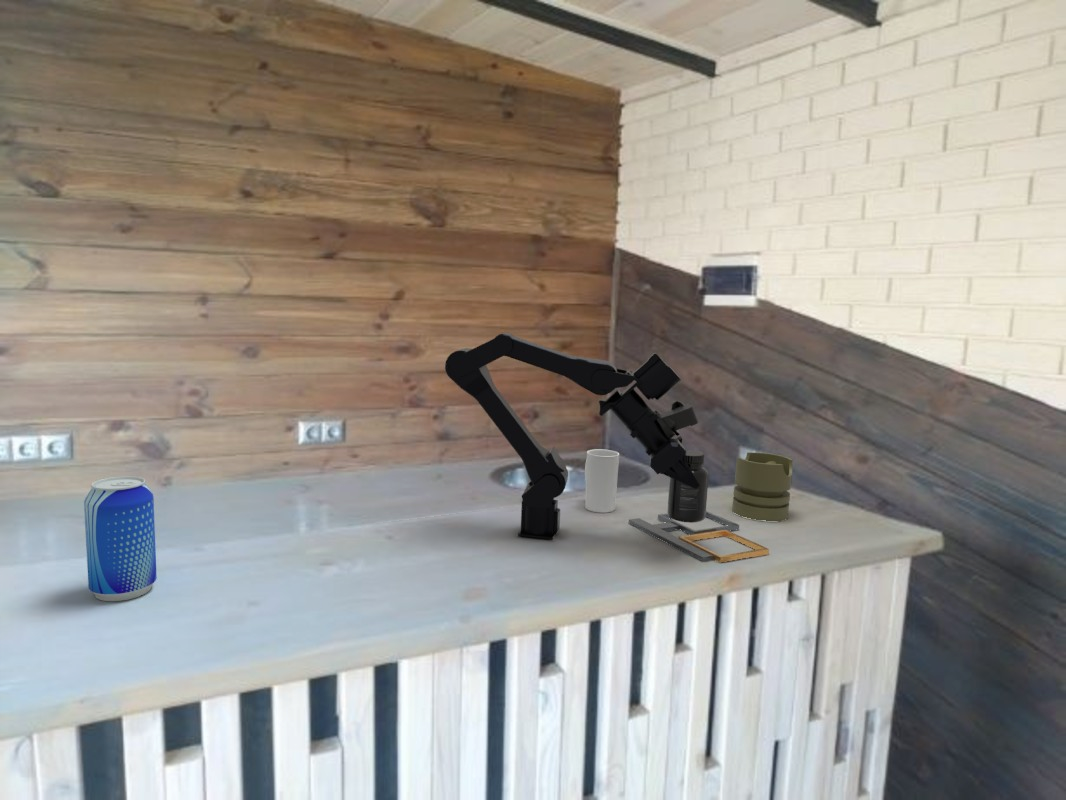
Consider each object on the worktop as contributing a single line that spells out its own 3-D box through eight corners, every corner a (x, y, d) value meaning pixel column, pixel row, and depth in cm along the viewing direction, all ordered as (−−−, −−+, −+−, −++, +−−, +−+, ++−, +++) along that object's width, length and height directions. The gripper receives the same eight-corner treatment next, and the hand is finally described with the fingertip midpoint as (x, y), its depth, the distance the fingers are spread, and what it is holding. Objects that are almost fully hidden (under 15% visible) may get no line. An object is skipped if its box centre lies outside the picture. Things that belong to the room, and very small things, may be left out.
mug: (622, 511, 150) (625, 455, 148) (594, 514, 147) (597, 457, 145) (597, 498, 158) (600, 445, 157) (570, 501, 156) (573, 447, 154)
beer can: (109, 609, 96) (103, 494, 94) (77, 593, 101) (70, 483, 98) (169, 588, 104) (165, 481, 101) (136, 575, 108) (132, 471, 106)
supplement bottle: (712, 517, 130) (717, 453, 128) (693, 526, 125) (698, 460, 123) (678, 508, 135) (683, 446, 133) (659, 516, 130) (664, 452, 128)
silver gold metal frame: (708, 565, 121) (709, 559, 121) (628, 523, 142) (628, 518, 142) (787, 551, 130) (788, 545, 129) (700, 513, 150) (701, 508, 150)
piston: (728, 457, 149) (748, 450, 158) (723, 513, 151) (744, 502, 160) (782, 467, 143) (800, 458, 151) (776, 525, 144) (795, 513, 153)
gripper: (675, 395, 118) (739, 465, 118) (669, 381, 136) (724, 443, 136) (624, 438, 120) (686, 507, 120) (625, 420, 138) (679, 480, 138)
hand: (696, 482), depth 129 cm, fingers closed on supplement bottle, 6 cm apart
